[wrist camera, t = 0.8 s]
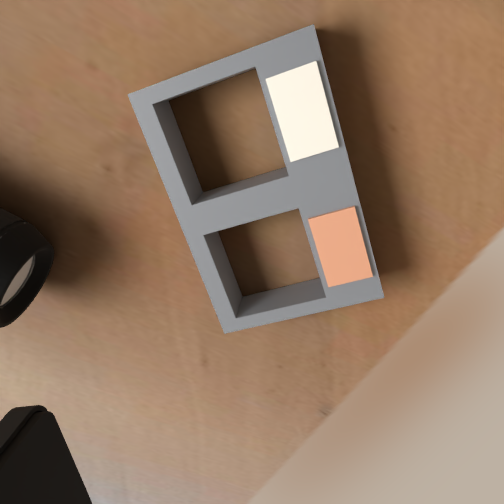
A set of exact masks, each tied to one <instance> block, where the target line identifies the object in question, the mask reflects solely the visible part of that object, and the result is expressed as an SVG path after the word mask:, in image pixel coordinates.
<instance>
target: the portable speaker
mask: <svg viewBox="0 0 504 504" xmlns="http://www.w3.org/2000/svg"><path fill="white" fill-rule="evenodd" d="M53 258H54V249H53V247H52V245H51V244H50V243H49V242H48V241H47V240H46V239H45V238H44V237H43V235H42V234H41V233H40V232H39V231H38V230H37V229H36V228H35V227H34V226H33V225H32V224H30V223H28V222H27V221H25V220H23V219H21V218H19V217H17V216H15V215H13V214H12V213H10V212H8V211H6V210H4V209H2V208H0V328H1V327H5V326H7V325H9V324H11V323H12V322H13V321H15V320H16V319H17V318H18V317H19V316H20V315H21V314H22V313H23V312H24V311H25V310H26V309H27V307H28V306H29V305H30V304H31V302H32V301H33V300H34V298H35V297H36V295H37V294H38V292H39V291H40V289H41V287H42V286H43V284H44V282H45V280H46V278H47V276H48V274H49V271H50V269H51V266H52V263H53Z"/></svg>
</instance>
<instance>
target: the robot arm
mask: <svg viewBox="0 0 504 504" xmlns="http://www.w3.org/2000/svg"><path fill="white" fill-rule="evenodd" d="M0 504H92V502H91V500H90V497H89V495H88V493H87V490H86V488H85V486H84V483H83V481H82V479H81V476H80V474H79V472H78V469H77V467H76V465H75V463H74V460H73V458H72V456H71V453H70V451H69V449H68V446H67V444H66V442H65V439H64V437H63V435H62V432H61V430H60V428H59V426H58V423H57V421H56V419H55V416H54V415H53V413H51V412H48V411H47V409H46V408H45V407H44V406H41V405H36V406H26V407H16V408H13V409H11V410H10V411H9V412H8V413H7V414H6V415H5V416H4V418H3V419H2V420H1V421H0Z"/></svg>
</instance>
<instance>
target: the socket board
mask: <svg viewBox="0 0 504 504" xmlns="http://www.w3.org/2000/svg"><path fill="white" fill-rule="evenodd" d="M253 69H256V71H257V74H258V77H259V80H260V84H261V87H262V90H263V93H264V97H265V100H266V103H267V106H268V110H269V113H270V116H271V119H272V123H273V126H274V129H275V133H276V136H277V139H278V142H279V146H280V149H281V152H282V155H283V159H284V162H285V165H286V167H284V168H281V169H277V170H274V171H271V172H267V173H264V174H261V175H258V176H254V177H251V178H248V179H245V180H241V181H238V182H235V183H232V184H228V185H225V186H222V187H219V188H215V189H212V190H209V191H206V192H203V191H202V188H201V186H200V183H199V180H198V178H197V175H196V172H195V170H194V167H193V164H192V162H191V159H190V157H189V154H188V151H187V149H186V146H185V143H184V141H183V138H182V135H181V133H180V130H179V127H178V125H177V122H176V119H175V117H174V114H173V111H172V109H171V106H170V104H169V101H168V100H171V99H174V98H176V97H179V96H182V95H185V94H187V93H190V92H193V91H195V90H198V89H201V88H204V87H206V86H209V85H212V84H215V83H217V82H220V81H223V80H226V79H228V78H231V77H234V76H236V75H239V74H242V73H245V72H247V71H250V70H253ZM128 97H129V99H130V102H131V104H132V107H133V109H134V112H135V114H136V117H137V119H138V122H139V124H140V126H141V129H142V131H143V134H144V136H145V139H146V141H147V144H148V146H149V149H150V151H151V154H152V156H153V159H154V161H155V163H156V166H157V168H158V171H159V173H160V176H161V178H162V181H163V183H164V186H165V188H166V191H167V193H168V196H169V198H170V200H171V203H172V205H173V208H174V210H175V213H176V215H177V218H178V220H179V223H180V225H181V228H182V230H183V233H184V235H185V237H186V240H187V242H188V245H189V247H190V250H191V252H192V255H193V257H194V260H195V262H196V265H197V267H198V270H199V272H200V274H201V277H202V279H203V282H204V284H205V287H206V289H207V292H208V294H209V297H210V299H211V302H212V304H213V307H214V309H215V311H216V314H217V316H218V319H219V321H220V324H221V326H222V329H223V331H224V334H225V333H229V332H234V331H238V330H243V329H247V328H252V327H256V326H260V325H265V324H269V323H274V322H278V321H283V320H287V319H291V318H296V317H300V316H305V315H309V314H314V313H318V312H323V311H327V310H331V309H336V308H340V307H345V306H349V305H354V304H358V303H362V302H367V301H371V300H376V299H380V298H384V294H383V290H382V286H381V283H380V279H379V275H378V271H377V267H376V263H375V259H374V255H373V252H372V248H371V244H370V240H369V236H368V232H367V228H366V224H365V221H364V217H363V213H362V209H361V205H360V201H359V197H358V193H357V190H356V186H355V182H354V178H353V174H352V170H351V166H350V162H349V159H348V155H347V151H346V147H345V143H344V139H343V135H342V131H341V128H340V124H339V120H338V116H337V112H336V108H335V104H334V100H333V97H332V93H331V89H330V85H329V81H328V77H327V73H326V69H325V66H324V62H323V58H322V54H321V50H320V46H319V42H318V38H317V35H316V31H315V27H314V24H313V25H310V26H307V27H305V28H302V29H299V30H297V31H294V32H291V33H289V34H286V35H284V36H281V37H278V38H276V39H273V40H270V41H268V42H265V43H262V44H260V45H257V46H255V47H252V48H249V49H247V50H244V51H241V52H239V53H236V54H233V55H231V56H228V57H225V58H223V59H220V60H218V61H215V62H212V63H210V64H207V65H204V66H202V67H199V68H196V69H194V70H191V71H188V72H186V73H183V74H181V75H178V76H175V77H173V78H170V79H167V80H165V81H162V82H159V83H157V84H154V85H151V86H149V87H146V88H144V89H141V90H138V91H136V92H133V93H130V94H128ZM297 208H299V211H300V214H301V217H302V220H303V224H304V227H305V230H306V233H307V237H308V240H309V243H310V246H311V250H312V253H313V256H314V259H315V263H316V266H317V269H318V272H319V276H320V278H317V279H313V280H309V281H305V282H301V283H297V284H293V285H289V286H285V287H280V288H276V289H272V290H268V291H264V292H260V293H256V294H252V295H248V296H243V297H242V294H241V292H240V289H239V286H238V284H237V281H236V278H235V276H234V273H233V270H232V268H231V265H230V262H229V260H228V257H227V254H226V252H225V249H224V247H223V244H222V241H221V239H220V236H219V233H218V231H219V230H223V229H227V228H230V227H234V226H237V225H241V224H244V223H248V222H251V221H255V220H258V219H262V218H265V217H269V216H272V215H276V214H279V213H283V212H287V211H290V210H294V209H297Z"/></svg>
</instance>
